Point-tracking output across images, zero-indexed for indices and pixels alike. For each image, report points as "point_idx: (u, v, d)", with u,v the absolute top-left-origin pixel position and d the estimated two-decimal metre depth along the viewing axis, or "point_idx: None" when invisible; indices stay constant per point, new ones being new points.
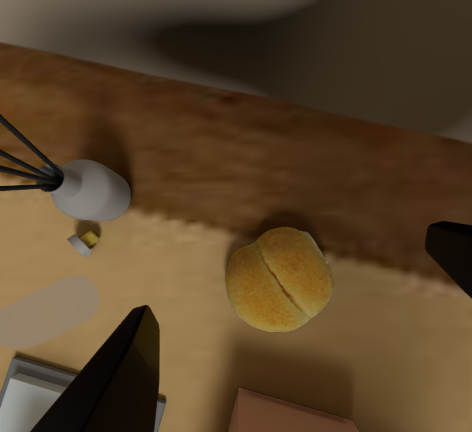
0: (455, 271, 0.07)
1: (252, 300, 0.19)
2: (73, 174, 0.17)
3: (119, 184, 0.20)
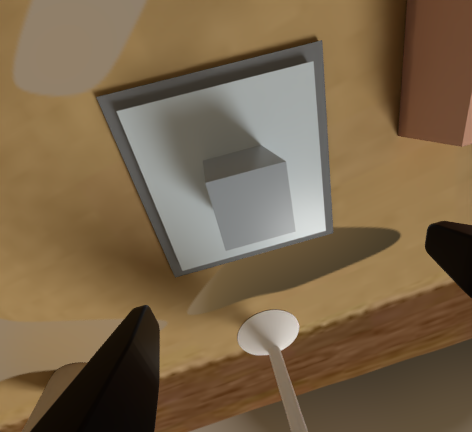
0: (455, 271, 0.07)
1: None
2: None
3: None
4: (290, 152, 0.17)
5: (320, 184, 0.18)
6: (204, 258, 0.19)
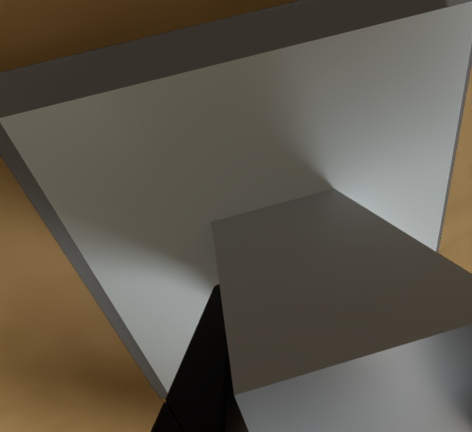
0: None
1: None
2: None
3: None
4: (389, 200, 0.08)
5: None
6: None
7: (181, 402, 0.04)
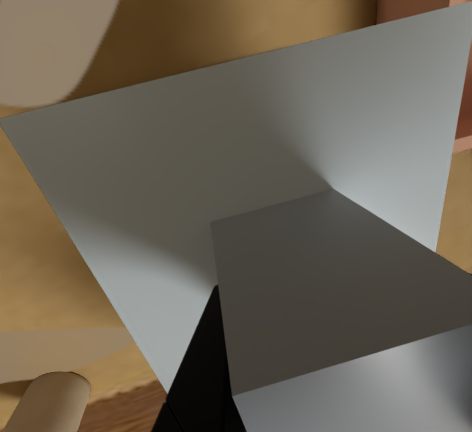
0: None
1: None
2: None
3: None
4: (388, 201, 0.08)
5: None
6: None
7: (181, 402, 0.04)
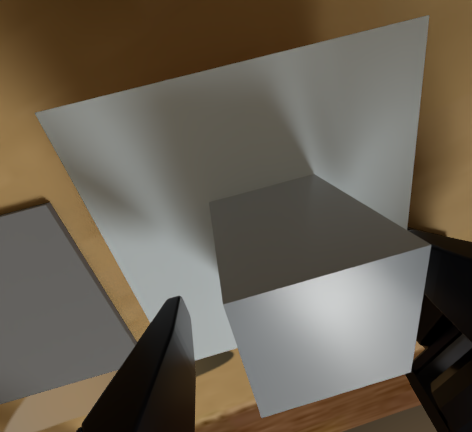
0: None
1: None
2: None
3: None
4: (362, 185, 0.10)
5: None
6: (209, 348, 0.12)
7: (94, 428, 0.04)
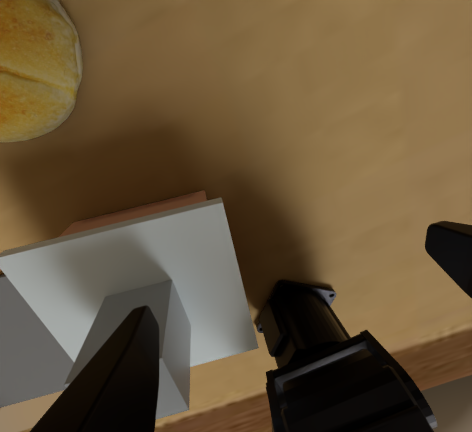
0: (455, 271, 0.07)
1: None
2: None
3: None
4: (207, 283, 0.15)
5: (246, 309, 0.16)
6: None
7: None
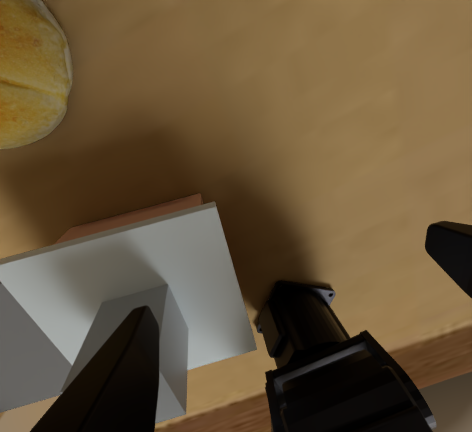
0: (455, 271, 0.07)
1: None
2: None
3: None
4: (203, 287, 0.15)
5: (243, 311, 0.16)
6: None
7: None
